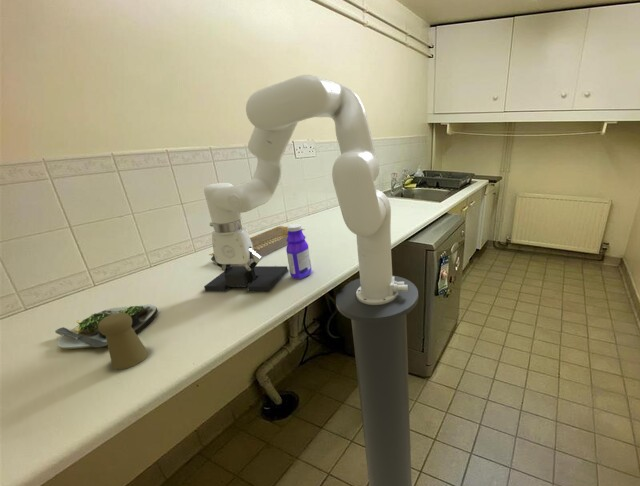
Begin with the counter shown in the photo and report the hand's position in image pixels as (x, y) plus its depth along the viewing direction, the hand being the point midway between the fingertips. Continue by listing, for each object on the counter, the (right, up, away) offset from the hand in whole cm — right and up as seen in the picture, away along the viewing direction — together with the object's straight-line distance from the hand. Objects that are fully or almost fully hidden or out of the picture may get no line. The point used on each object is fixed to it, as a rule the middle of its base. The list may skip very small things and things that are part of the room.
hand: (241, 280), depth 97 cm
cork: (-9, -14, -29) cm, 33 cm away
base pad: (0, -1, +4) cm, 4 cm away
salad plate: (-22, -10, -19) cm, 31 cm away
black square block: (0, -1, 0) cm, 1 cm away
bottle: (+16, +1, +7) cm, 18 cm away
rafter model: (-7, +9, +30) cm, 32 cm away
